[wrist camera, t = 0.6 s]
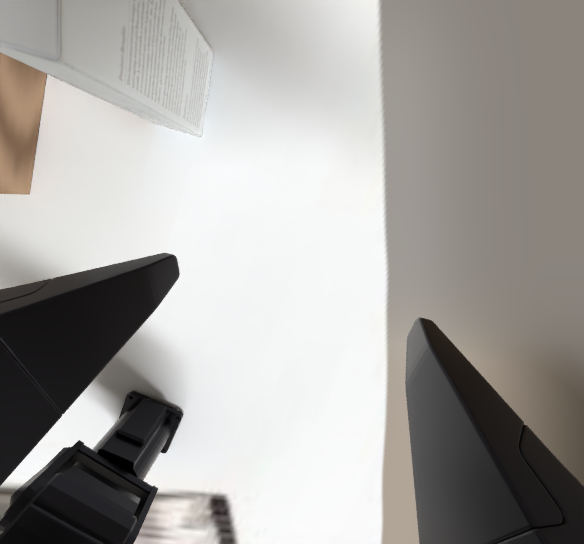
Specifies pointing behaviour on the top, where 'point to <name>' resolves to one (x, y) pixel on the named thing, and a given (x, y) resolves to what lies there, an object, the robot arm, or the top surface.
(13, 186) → the walnut tray
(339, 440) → the top surface
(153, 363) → the top surface
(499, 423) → the robot arm
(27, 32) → the skincare box
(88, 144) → the top surface
